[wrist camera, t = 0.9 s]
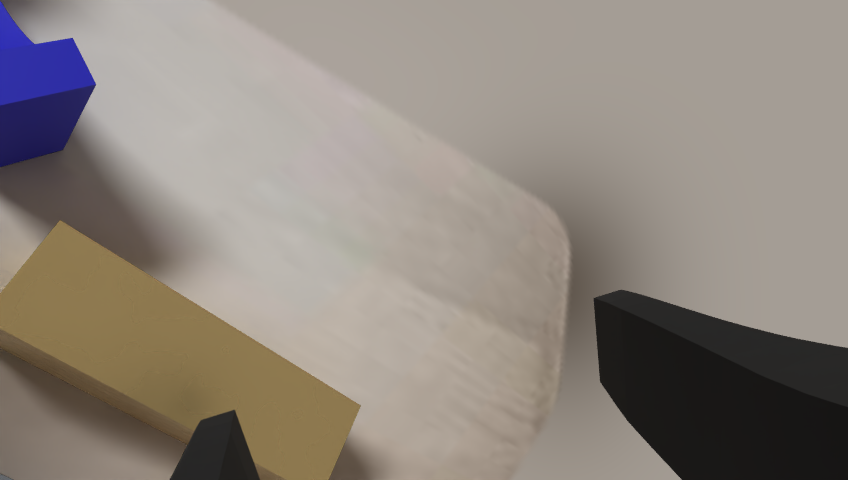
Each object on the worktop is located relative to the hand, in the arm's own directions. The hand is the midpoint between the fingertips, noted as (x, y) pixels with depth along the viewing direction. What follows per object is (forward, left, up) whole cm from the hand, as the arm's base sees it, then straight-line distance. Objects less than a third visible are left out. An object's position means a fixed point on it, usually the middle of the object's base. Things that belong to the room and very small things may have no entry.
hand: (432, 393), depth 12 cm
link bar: (+1, +1, -15) cm, 16 cm away
